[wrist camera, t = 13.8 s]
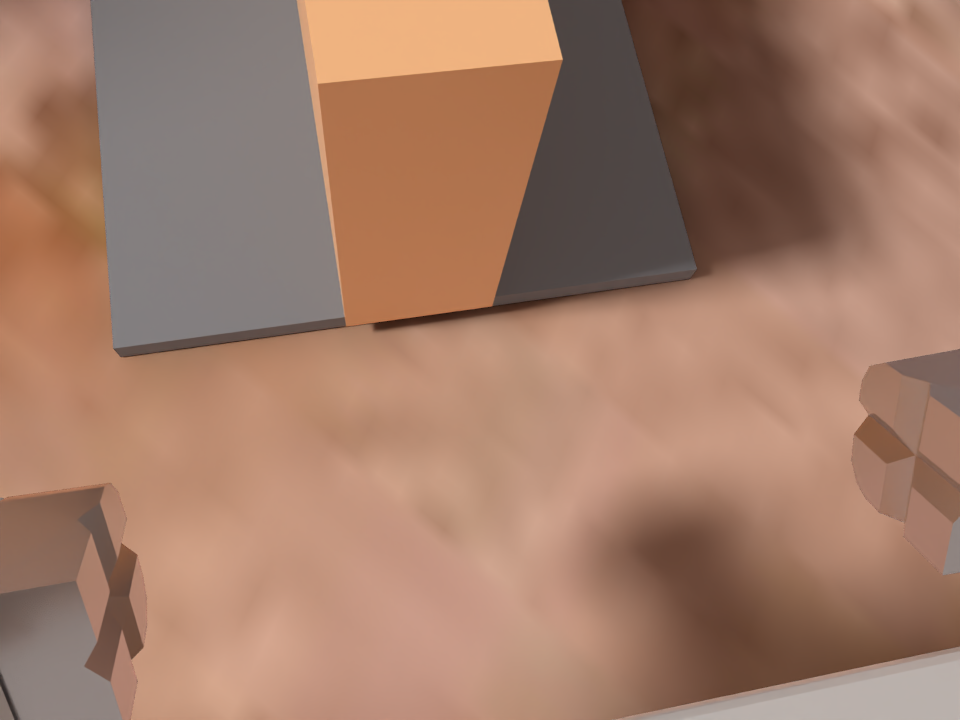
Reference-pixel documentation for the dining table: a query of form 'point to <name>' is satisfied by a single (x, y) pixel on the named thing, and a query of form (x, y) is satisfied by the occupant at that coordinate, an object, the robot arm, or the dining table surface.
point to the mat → (300, 183)
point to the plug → (426, 142)
